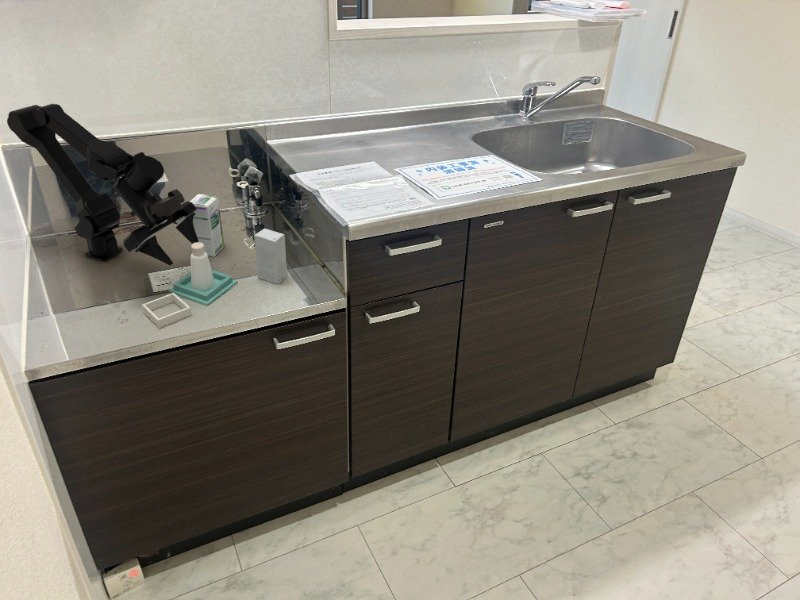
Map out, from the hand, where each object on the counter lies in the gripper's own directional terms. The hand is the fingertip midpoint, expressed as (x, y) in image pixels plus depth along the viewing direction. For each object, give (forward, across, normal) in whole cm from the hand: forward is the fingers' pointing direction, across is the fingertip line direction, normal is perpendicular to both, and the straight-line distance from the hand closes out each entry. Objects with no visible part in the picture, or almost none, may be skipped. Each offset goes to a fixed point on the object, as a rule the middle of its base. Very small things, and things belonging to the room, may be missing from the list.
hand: (185, 255), depth 139 cm
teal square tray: (+8, +1, +3) cm, 9 cm away
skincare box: (+16, +12, -5) cm, 21 cm away
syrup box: (+2, +15, +10) cm, 18 cm away
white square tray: (+8, -12, +3) cm, 14 cm away
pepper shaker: (+8, +1, +3) cm, 8 cm away
